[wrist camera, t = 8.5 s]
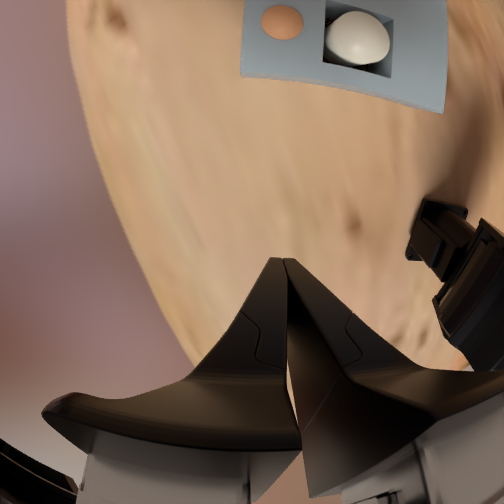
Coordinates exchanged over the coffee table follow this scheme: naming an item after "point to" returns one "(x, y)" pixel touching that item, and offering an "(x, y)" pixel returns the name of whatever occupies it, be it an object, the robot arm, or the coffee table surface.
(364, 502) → the robot arm
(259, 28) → the button board
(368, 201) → the coffee table surface
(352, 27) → the button inner
